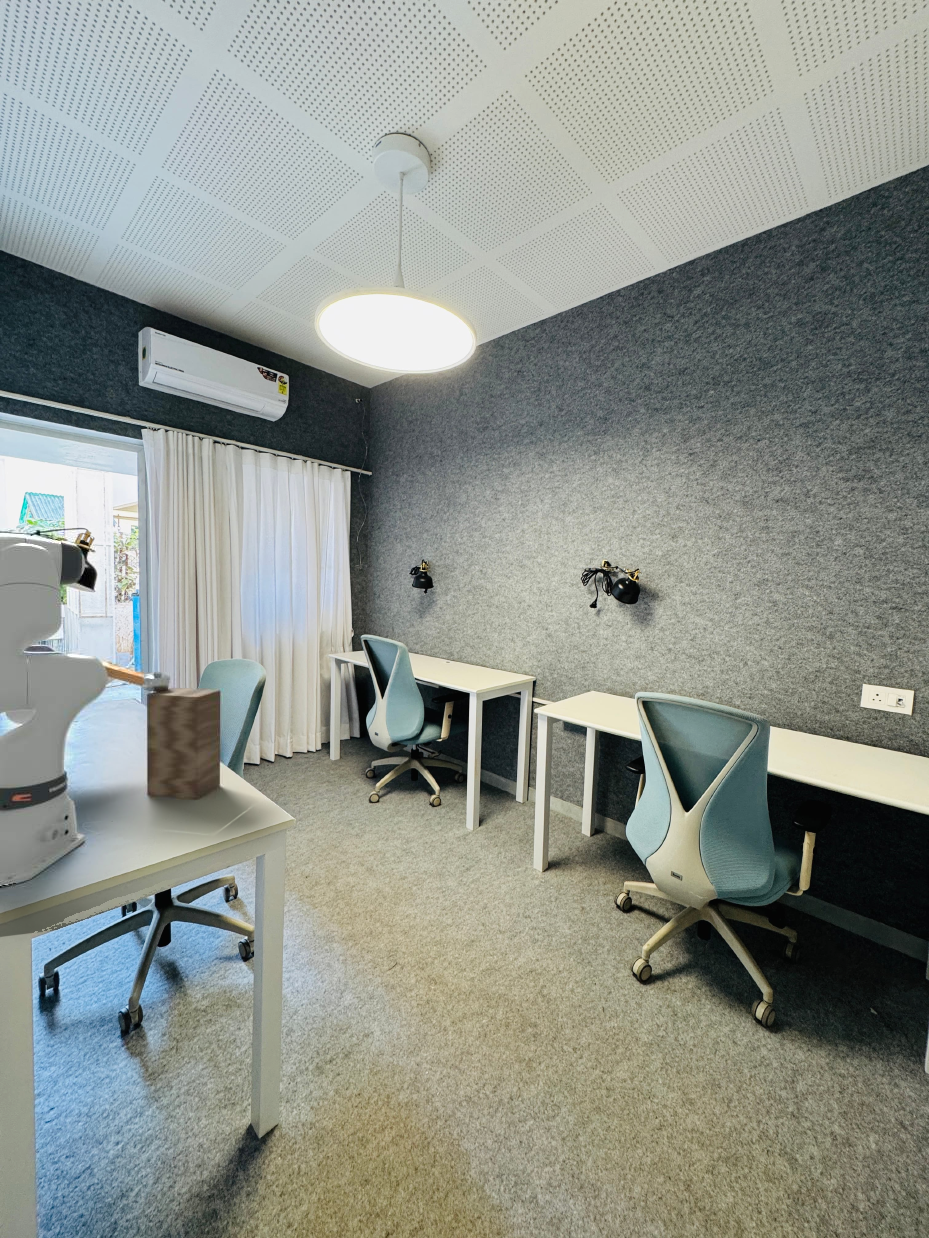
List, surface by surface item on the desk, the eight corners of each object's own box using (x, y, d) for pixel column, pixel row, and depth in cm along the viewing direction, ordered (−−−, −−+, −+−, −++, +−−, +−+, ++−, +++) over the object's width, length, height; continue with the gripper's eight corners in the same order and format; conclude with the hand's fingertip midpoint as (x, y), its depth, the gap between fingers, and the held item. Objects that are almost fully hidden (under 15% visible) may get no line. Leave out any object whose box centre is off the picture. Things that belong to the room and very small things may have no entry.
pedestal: (219, 785, 133) (220, 690, 132) (197, 799, 124) (197, 697, 123) (172, 781, 135) (172, 687, 134) (147, 794, 126) (147, 694, 125)
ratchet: (173, 688, 132) (176, 673, 132) (156, 693, 126) (159, 677, 126) (103, 668, 135) (105, 653, 134) (83, 671, 129) (86, 656, 128)
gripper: (19, 685, 123) (61, 660, 121) (91, 672, 143) (128, 650, 141) (30, 707, 123) (72, 683, 121) (101, 691, 143) (138, 670, 141)
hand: (103, 665), depth 131 cm, fingers closed on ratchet, 3 cm apart
